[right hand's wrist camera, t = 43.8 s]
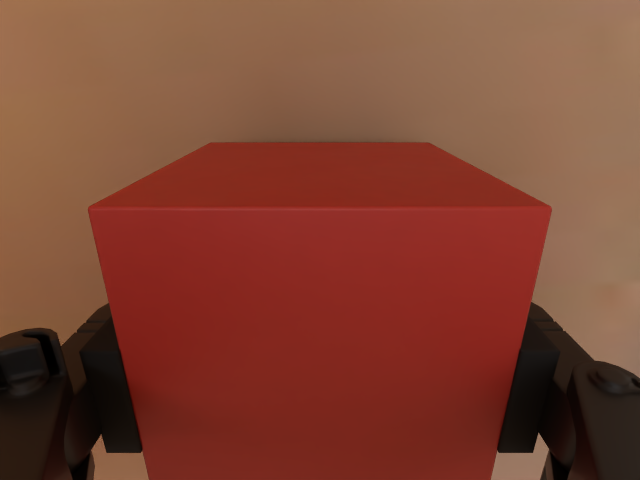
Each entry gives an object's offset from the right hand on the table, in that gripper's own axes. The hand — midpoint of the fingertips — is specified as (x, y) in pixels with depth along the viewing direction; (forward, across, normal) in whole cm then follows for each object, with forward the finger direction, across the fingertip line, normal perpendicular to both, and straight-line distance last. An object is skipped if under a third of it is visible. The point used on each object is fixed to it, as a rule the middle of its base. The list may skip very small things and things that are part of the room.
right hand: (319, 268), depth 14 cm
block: (+2, 0, 0) cm, 2 cm away
